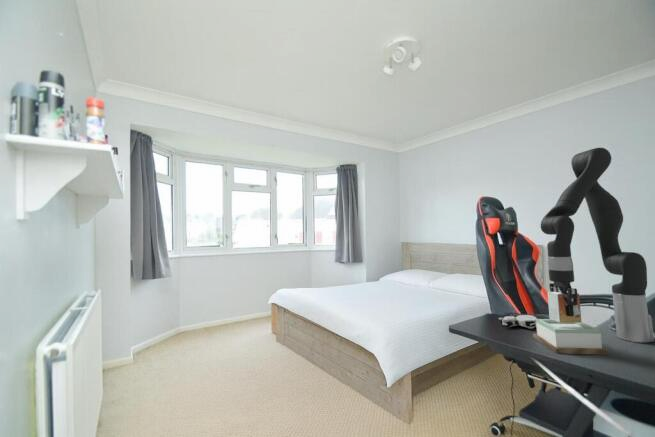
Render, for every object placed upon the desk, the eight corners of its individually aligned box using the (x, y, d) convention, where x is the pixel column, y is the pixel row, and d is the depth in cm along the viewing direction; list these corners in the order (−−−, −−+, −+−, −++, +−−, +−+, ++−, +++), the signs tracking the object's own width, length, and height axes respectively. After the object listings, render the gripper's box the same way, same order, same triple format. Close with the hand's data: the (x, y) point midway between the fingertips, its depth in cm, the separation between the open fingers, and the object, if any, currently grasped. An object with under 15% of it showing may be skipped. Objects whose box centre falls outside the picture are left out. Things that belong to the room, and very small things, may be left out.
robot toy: (503, 331, 134) (543, 331, 129) (502, 321, 134) (541, 320, 129) (498, 323, 145) (534, 323, 140) (497, 314, 146) (533, 313, 141)
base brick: (577, 335, 118) (575, 319, 118) (602, 348, 104) (600, 330, 105) (537, 334, 120) (535, 319, 121) (556, 347, 107) (554, 329, 107)
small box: (559, 323, 110) (557, 294, 111) (549, 319, 116) (546, 291, 116) (582, 322, 110) (579, 293, 111) (570, 318, 115) (568, 290, 116)
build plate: (578, 338, 119) (577, 334, 119) (609, 354, 102) (608, 350, 102) (533, 337, 122) (532, 333, 122) (556, 353, 105) (555, 348, 105)
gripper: (584, 270, 106) (588, 319, 105) (561, 266, 120) (565, 309, 119) (560, 270, 108) (564, 318, 107) (540, 267, 122) (543, 309, 121)
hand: (564, 313), depth 113 cm, fingers closed on small box, 6 cm apart
